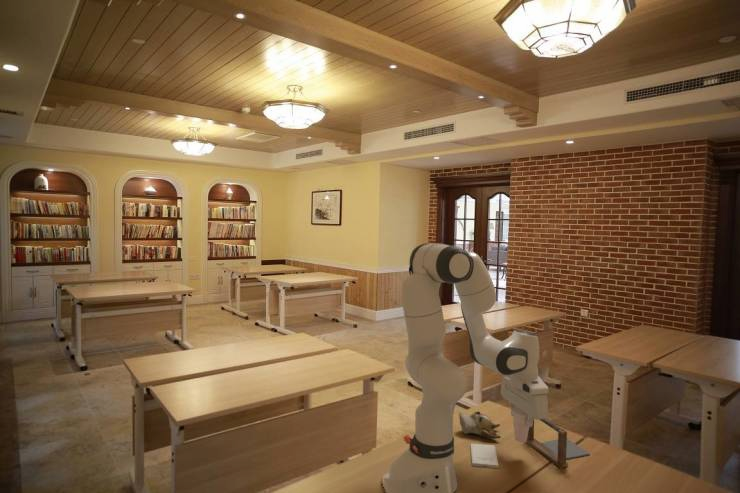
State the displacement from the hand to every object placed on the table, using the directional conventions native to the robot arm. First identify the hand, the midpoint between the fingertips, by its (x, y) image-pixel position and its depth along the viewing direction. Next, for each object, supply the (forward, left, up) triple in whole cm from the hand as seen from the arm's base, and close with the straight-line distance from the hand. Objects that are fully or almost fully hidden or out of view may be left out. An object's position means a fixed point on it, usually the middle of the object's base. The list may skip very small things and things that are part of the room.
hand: (521, 420), depth 147 cm
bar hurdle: (+10, 0, -13) cm, 16 cm away
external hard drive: (-11, +4, -13) cm, 18 cm away
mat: (+18, 0, -13) cm, 22 cm away
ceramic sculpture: (-4, +18, -13) cm, 23 cm away
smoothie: (0, 0, -7) cm, 7 cm away
